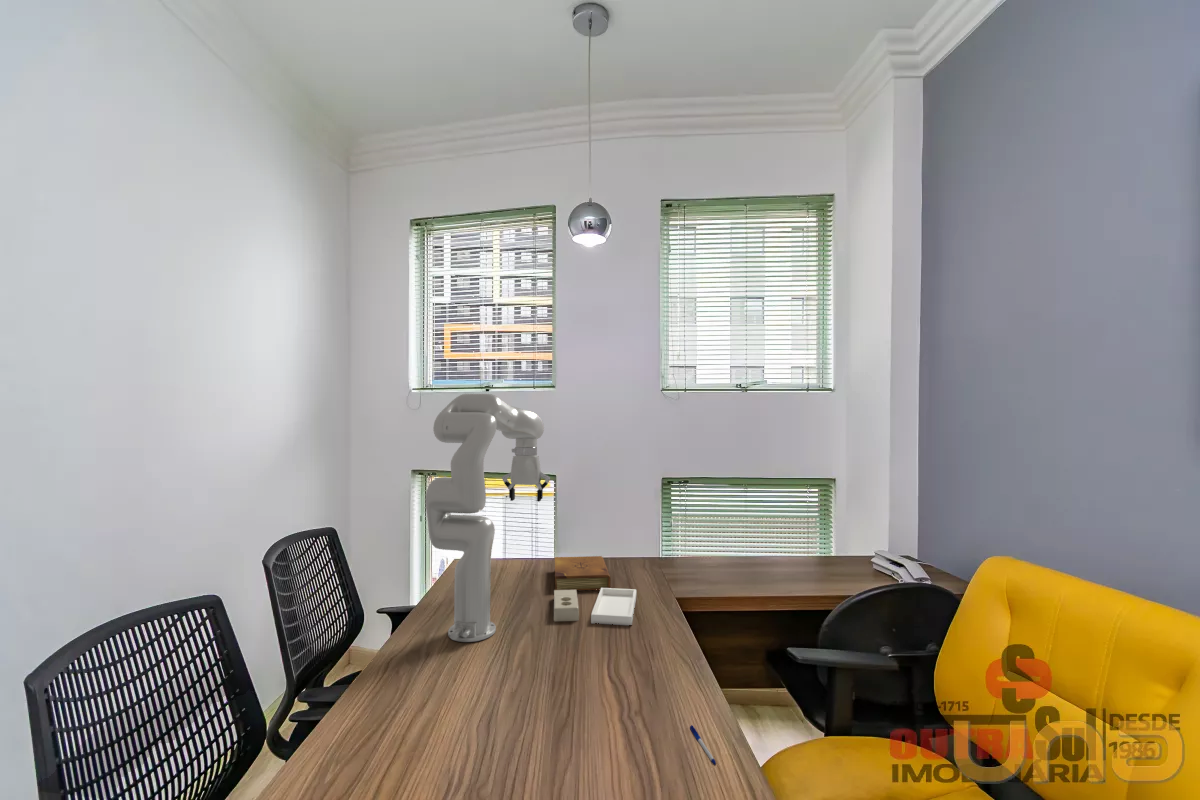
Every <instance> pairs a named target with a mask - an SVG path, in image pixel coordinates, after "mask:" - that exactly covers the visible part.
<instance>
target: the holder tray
mask: <svg viewBox="0 0 1200 800" xmlns="http://www.w3.org/2000/svg"><path fill="white" fill-rule="evenodd" d="M636 601H637V589H633V588H632V589H631V588H614V587H613V588H611V587H610V588H601V589H600V590H599V593H598V595H597V598H596V601H595V602H594V606H593V607H592V611H591V615H590V623H591V624H595V623H597V625H612V624H613V626H615V625H616V626H629V625H633V621H634V615H633V614H634V613H635V609H634V608H635V607H636ZM598 623H599V624H598Z"/></svg>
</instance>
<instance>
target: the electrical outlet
mask: <svg viewBox="0 0 1200 800" xmlns="http://www.w3.org/2000/svg"><path fill="white" fill-rule="evenodd" d="M553 594H554V596H553V600H554V601H553V621H554V622H577V621H580V620H579V619H580V618H579V617H580V616H579V615H580V613H579V610H580V609H579V608H580V607H579V599H578V591H577V590H555V589H554V590H553Z"/></svg>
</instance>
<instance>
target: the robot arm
mask: <svg viewBox="0 0 1200 800" xmlns="http://www.w3.org/2000/svg"><path fill="white" fill-rule="evenodd" d="M432 430H433V434H434V437H435V438H436V439H437V440H438V441H439V442H441V443H445V444H446V443H447V444H460V446H459V447H458V448H457V450H456V451H455V452H454V454H453V456H452V458H451V459H450V475H451V476H439V477H437V478H435V479H433V480H432V481H431V482H430V483H429V484H428V486H427V489H426V492H425V493H426V494H425V511H426V517H427V518H426V519H427V520H426V521H427V525H428V527H427V528H428V535H429V536H428V537H429V540H430V543H431V545H432V546H433V548H436V549H438V550H443V551H444V550H445V551H459V552H463V555H462V556H461V557H460V558H459V560H458V561H457V563H456V565H455V568H454V606H453V607H454V609H453V611H454V613H453V614H454V617H453V618H454V619H453V624H452V625H450V627H449V628H448V630H447V636H448V637H449V639H451V640H452V641H456V642H459V643H460V642H461V643H473V642H479V641H484V640H486V639H488V638H490V637H492V636H493V635H494V634H495V633H496V629H497V627H496V624H495V622H494V621H491V569H492V568H491V567H492V566H491V565H492V563H491V561H492V551H493V545H494V540H495V531H496V530H495V529H496V528H495V525H494V522H493V521H492V520H491V519H490V518H488V517H486V516H482V515H475V514H476V513H479V512H481V511H483V509H484V508H485V506H486V502H487V501H486V500H487V498H486V497H487V493H486V481H485V471H484V469H485V467H484V462H485V461H484V459H485V456H486V453H487V452H488V449H489V446H490V445H491V443H492V441H493V438H494V437H495V435H496V432H497V431H499V432H501V434H502V435H503V437H505V438H507V439H510V440H515V447H514V448H511V453H514V455H513V456H512V460H511V467H510V472H509V473H506V474H505V475H503V476H501V479H502V481H503V484H504V485H505V486H506V488H507V489H508V497H509V499H510V502H513V501H515V499H516V498H515V497H516V495H515V494H516V489H515V486H517V485H518V486H523V485H524V486H536V487H537V489H538V490H537V492H536V494H537V495H536V496H537V497H536V498H537V501H536V502H539V503H540V502H541V501H542V499H543V497H544V496H543V492H544V491H543V489H544V488H545V487H546V486H548V484H549V482H550V480H551V476H549V475H547V474H545V473H544V472H542V471H541V462H540V461H541V460H540V457H539V455H538V439H540V438H541V437H542V436H543V434H544V431H545V424H544V422H543V420H542V418H541V417H540V416H539V415H538V414H536V413H535V412H533V411H530V410H527V409H523V408H519V407H516V406H512V405H509V404H508V403H506V402H505V401H504V400H502V399H501V398H500V397H498V396H496V395H495V394H491V393H463V394H460V395H458V396H456V397H455V398H454V399H452V400H451V401H450V402H449V404H447V405H445V407H444V408H443V409H442V410H440V412H439V413H438V415H437V416H436V418H435V420H434V422H433V429H432ZM508 478H510V481H509V480H508ZM542 478H543V479H544V482H543V483H541V481H542ZM472 514H474V515H472Z"/></svg>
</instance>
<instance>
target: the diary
mask: <svg viewBox="0 0 1200 800" xmlns="http://www.w3.org/2000/svg"><path fill="white" fill-rule="evenodd" d="M611 583H612V582H611V575H610V572H609V569H608V567H607V564H606V561H605V559H604V557H603V556H602V555H599V556H597V555H596V556H595V555H593V556H591V555H590V556H560V557H559V556H555V557H554V588H555V589H554V590H595V591H600V590H599V589H601V588H611V586H612V585H611ZM596 589H597V590H596Z"/></svg>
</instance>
